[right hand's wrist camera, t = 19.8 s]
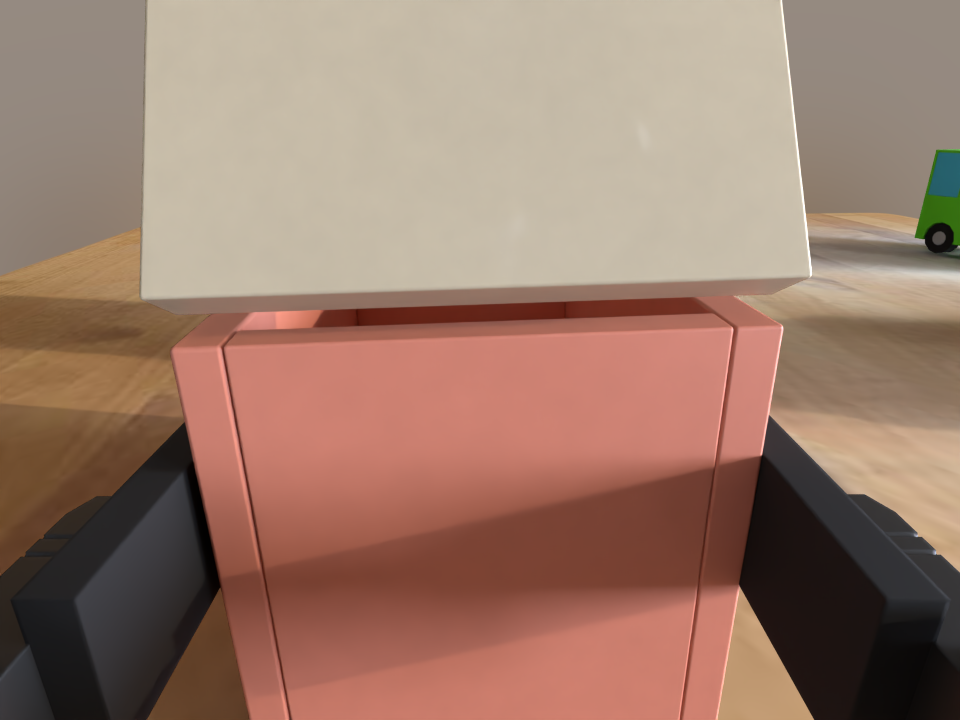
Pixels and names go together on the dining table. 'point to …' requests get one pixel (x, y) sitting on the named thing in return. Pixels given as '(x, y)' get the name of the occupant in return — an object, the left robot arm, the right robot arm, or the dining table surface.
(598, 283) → the lid
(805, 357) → the dining table surface
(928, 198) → the toy car
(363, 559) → the chest
